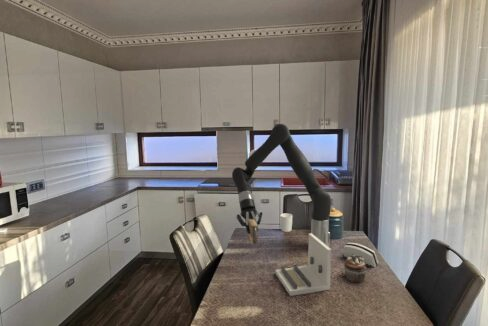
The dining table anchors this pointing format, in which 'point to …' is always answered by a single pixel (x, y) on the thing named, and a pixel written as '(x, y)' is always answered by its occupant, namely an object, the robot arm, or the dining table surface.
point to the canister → (335, 224)
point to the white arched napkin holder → (361, 253)
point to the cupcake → (355, 268)
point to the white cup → (286, 222)
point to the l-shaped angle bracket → (309, 271)
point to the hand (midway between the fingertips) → (253, 232)
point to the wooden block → (252, 232)
